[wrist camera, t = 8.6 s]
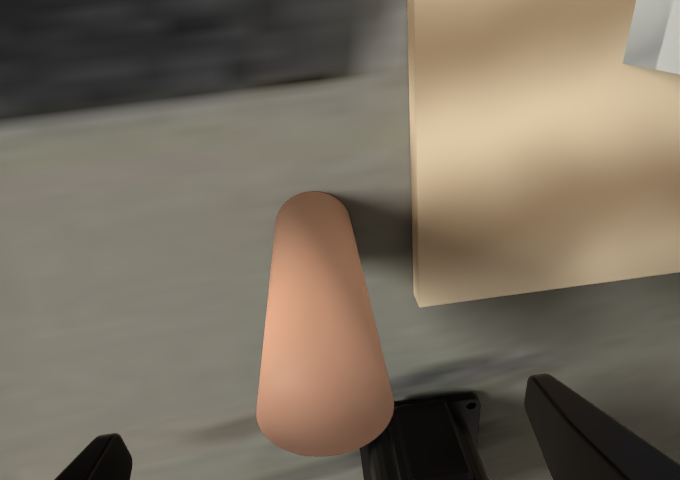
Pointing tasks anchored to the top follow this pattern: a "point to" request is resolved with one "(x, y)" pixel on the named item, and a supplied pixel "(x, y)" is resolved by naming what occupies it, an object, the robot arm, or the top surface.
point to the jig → (537, 149)
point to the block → (655, 36)
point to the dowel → (320, 337)
